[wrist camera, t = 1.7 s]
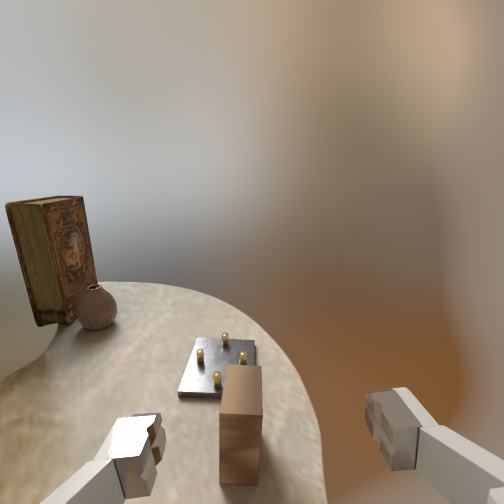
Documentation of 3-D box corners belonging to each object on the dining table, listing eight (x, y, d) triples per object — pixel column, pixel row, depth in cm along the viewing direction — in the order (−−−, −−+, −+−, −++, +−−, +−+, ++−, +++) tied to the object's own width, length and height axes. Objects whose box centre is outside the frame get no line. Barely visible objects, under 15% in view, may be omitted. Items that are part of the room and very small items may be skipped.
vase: (101, 337, 46) (94, 297, 43) (71, 331, 47) (62, 292, 44) (126, 318, 52) (121, 282, 50) (99, 313, 54) (93, 278, 51)
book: (78, 291, 63) (59, 195, 55) (101, 291, 64) (85, 196, 56) (37, 329, 47) (3, 203, 40) (68, 327, 48) (40, 203, 41)
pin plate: (178, 396, 34) (177, 380, 33) (197, 341, 46) (197, 328, 45) (253, 400, 34) (254, 383, 33) (254, 344, 46) (254, 331, 45)
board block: (219, 484, 25) (219, 413, 22) (226, 426, 31) (227, 364, 28) (257, 486, 25) (262, 415, 22) (257, 428, 31) (261, 365, 28)
